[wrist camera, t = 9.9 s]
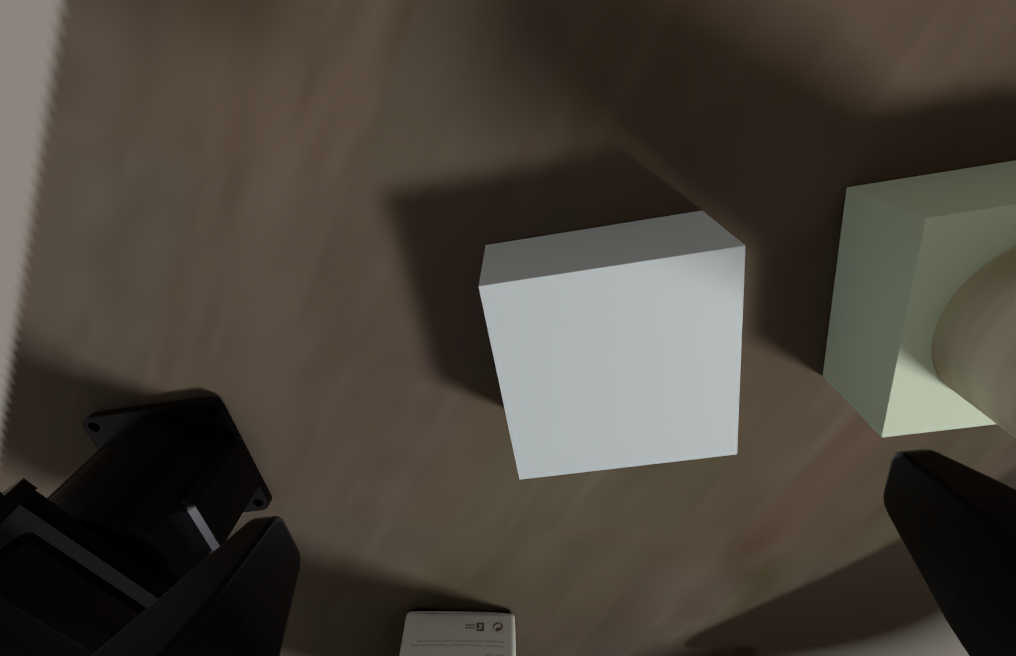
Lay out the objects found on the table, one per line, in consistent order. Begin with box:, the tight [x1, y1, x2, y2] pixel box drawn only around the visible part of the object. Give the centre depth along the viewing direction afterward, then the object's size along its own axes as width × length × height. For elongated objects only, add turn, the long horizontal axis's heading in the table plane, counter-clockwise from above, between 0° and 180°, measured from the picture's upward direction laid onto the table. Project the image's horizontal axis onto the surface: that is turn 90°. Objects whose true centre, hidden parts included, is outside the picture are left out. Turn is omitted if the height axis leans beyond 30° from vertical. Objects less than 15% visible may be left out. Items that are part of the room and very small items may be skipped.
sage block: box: [823, 160, 1016, 437], centre depth 18 cm, size 8×8×4 cm
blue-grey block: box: [479, 211, 745, 479], centre depth 19 cm, size 8×8×4 cm
